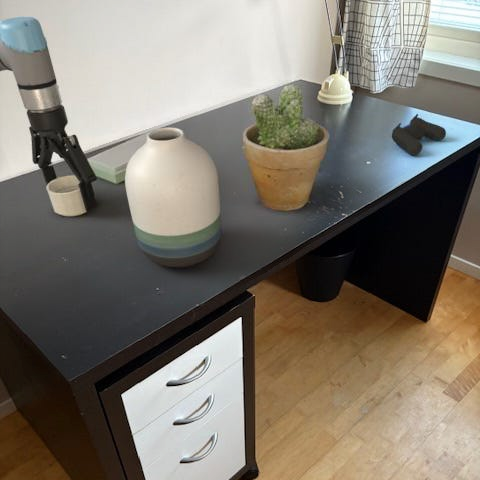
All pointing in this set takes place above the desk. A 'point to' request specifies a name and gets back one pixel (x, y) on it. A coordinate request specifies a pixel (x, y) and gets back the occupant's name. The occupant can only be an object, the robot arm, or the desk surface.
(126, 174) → the vase
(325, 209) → the desk surface
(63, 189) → the beige cup
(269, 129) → the potted plant
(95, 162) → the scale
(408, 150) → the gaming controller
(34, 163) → the robot arm
